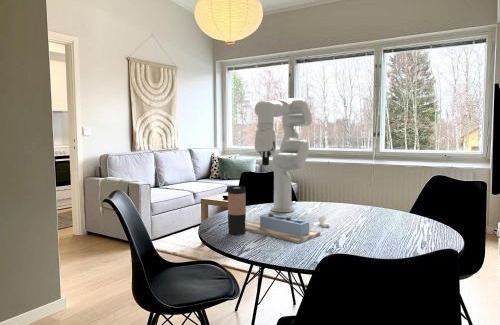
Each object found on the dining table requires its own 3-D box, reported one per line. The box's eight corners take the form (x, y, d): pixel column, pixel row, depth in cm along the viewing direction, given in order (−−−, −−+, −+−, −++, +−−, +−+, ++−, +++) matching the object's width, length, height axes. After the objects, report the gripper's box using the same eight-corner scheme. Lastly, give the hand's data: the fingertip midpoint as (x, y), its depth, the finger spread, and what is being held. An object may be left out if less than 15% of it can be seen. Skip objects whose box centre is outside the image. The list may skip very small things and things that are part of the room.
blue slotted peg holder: (268, 224, 174) (268, 213, 174) (309, 233, 159) (309, 221, 159) (260, 227, 170) (260, 216, 170) (300, 236, 155) (301, 224, 155)
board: (263, 222, 184) (263, 207, 183) (320, 234, 162) (320, 218, 161) (239, 228, 172) (239, 212, 171) (298, 243, 150) (298, 225, 150)
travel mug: (224, 232, 165) (224, 186, 163) (238, 229, 170) (238, 185, 168) (235, 236, 159) (235, 188, 158) (249, 233, 164) (249, 187, 163)
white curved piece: (330, 228, 174) (331, 219, 174) (313, 227, 176) (313, 218, 175) (331, 223, 183) (331, 215, 182) (314, 223, 184) (314, 214, 184)
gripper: (249, 127, 186) (248, 164, 188) (272, 127, 176) (272, 166, 178) (259, 127, 192) (259, 163, 193) (282, 127, 182) (282, 165, 183)
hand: (265, 165), depth 185 cm, fingers closed
